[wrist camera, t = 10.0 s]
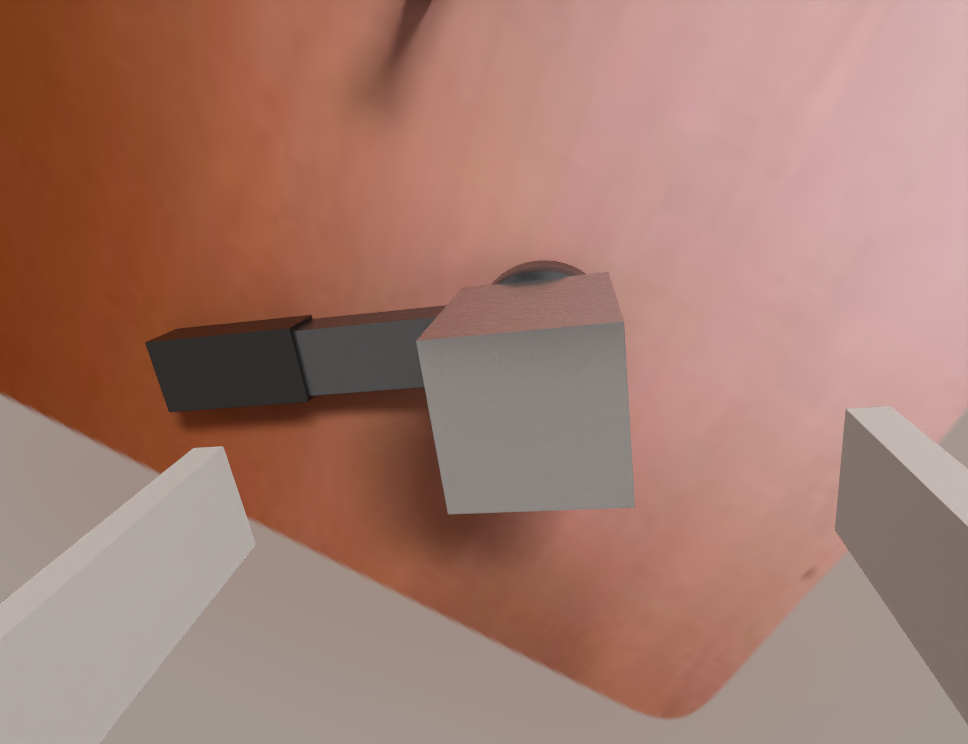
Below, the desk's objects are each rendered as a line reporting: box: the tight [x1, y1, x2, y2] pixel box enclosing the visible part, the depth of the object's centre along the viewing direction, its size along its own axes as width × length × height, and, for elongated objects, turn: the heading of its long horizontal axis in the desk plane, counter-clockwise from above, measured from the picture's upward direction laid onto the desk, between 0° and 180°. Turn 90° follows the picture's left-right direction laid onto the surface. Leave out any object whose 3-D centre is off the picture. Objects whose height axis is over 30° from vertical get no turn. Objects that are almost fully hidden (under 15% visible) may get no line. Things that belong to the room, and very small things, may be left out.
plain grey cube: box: [416, 272, 635, 514], centre depth 19 cm, size 6×6×7 cm
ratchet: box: [145, 261, 585, 412], centre depth 23 cm, size 6×20×6 cm, turn 98°
